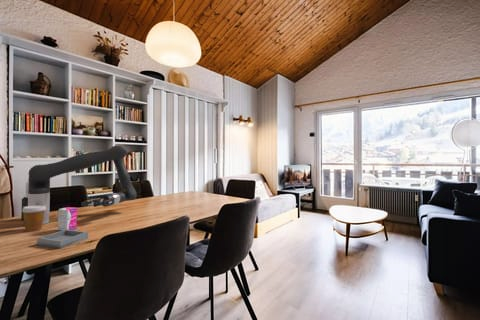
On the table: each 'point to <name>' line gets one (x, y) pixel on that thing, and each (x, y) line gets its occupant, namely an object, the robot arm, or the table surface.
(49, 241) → the tray
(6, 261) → the table surface
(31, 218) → the disposable coffee cup
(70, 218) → the supplement box
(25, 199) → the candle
